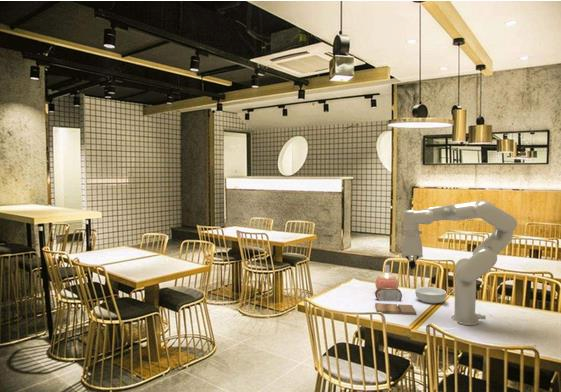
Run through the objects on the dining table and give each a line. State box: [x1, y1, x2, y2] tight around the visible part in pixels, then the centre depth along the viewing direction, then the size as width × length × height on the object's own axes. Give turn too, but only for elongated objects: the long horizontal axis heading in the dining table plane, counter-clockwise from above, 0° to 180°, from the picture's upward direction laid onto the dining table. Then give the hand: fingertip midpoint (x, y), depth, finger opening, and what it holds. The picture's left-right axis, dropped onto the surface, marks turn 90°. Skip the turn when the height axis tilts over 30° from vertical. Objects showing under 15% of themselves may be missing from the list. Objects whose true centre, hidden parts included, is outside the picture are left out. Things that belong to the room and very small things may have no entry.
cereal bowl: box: [414, 286, 447, 304], centre depth 233 cm, size 17×17×7 cm
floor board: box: [397, 303, 417, 316], centre depth 216 cm, size 22×13×2 cm, turn 82°
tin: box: [374, 287, 403, 302], centre depth 233 cm, size 15×3×8 cm, turn 84°
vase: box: [374, 264, 399, 290], centre depth 250 cm, size 14×14×18 cm
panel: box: [374, 302, 401, 315], centre depth 217 cm, size 11×12×2 cm
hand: (412, 268), depth 210 cm, fingers closed
